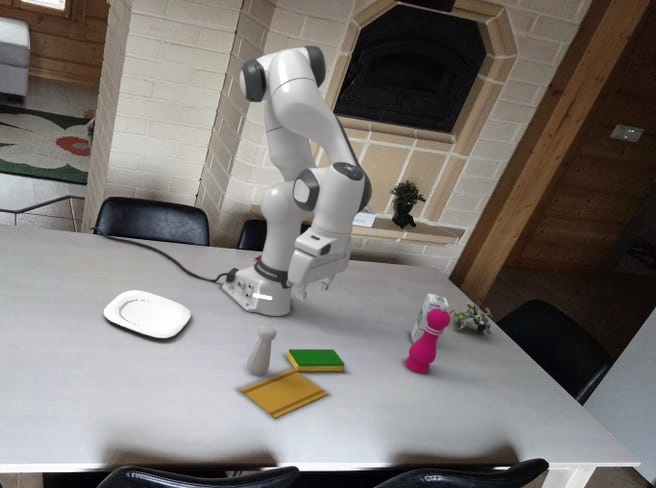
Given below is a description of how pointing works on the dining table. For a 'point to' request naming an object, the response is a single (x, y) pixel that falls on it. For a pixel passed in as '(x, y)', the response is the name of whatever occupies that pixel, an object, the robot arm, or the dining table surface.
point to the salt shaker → (261, 351)
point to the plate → (148, 314)
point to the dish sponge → (315, 360)
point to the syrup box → (428, 305)
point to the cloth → (283, 392)
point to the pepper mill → (428, 341)
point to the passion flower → (478, 318)
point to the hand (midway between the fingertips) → (312, 294)
